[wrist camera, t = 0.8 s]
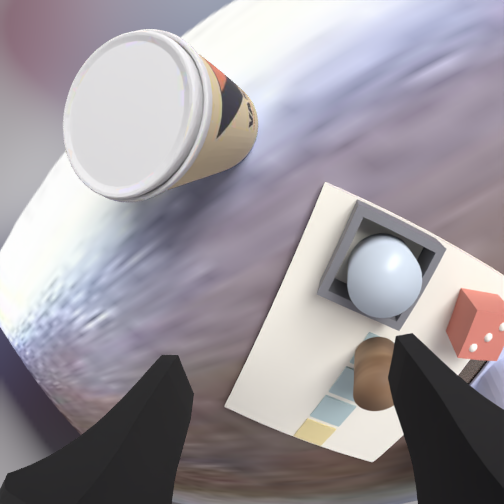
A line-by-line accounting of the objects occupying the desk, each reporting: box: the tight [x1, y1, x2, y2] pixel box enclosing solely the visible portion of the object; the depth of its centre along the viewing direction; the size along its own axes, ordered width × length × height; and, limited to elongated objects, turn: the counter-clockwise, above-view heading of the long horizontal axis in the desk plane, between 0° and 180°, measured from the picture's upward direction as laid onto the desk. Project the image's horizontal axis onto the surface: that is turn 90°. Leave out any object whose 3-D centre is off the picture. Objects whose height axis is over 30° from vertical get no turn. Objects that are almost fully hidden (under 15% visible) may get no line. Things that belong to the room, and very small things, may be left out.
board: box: [224, 182, 504, 462], centre depth 24 cm, size 19×25×4 cm
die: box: [446, 288, 504, 361], centre depth 19 cm, size 4×4×4 cm
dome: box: [347, 233, 422, 318], centre depth 19 cm, size 5×5×3 cm
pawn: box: [353, 337, 394, 411], centre depth 22 cm, size 4×4×5 cm
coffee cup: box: [63, 29, 258, 202], centre depth 18 cm, size 9×9×12 cm
